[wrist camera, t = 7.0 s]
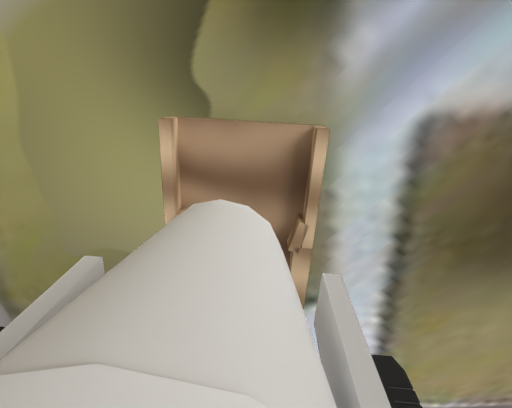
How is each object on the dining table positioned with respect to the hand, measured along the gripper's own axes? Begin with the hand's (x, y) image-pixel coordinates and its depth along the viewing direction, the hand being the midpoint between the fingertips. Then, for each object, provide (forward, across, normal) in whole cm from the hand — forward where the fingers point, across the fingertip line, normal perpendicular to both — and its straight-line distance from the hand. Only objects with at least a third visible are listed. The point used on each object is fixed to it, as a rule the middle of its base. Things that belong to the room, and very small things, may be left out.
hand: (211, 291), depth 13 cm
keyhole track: (+17, 0, -6) cm, 18 cm away
